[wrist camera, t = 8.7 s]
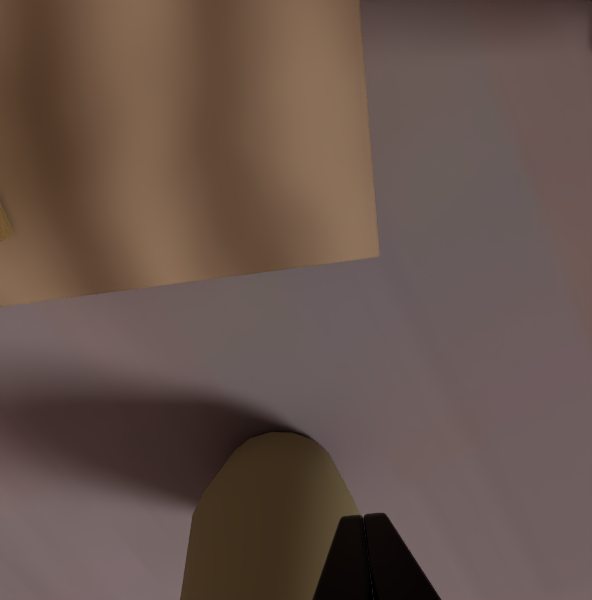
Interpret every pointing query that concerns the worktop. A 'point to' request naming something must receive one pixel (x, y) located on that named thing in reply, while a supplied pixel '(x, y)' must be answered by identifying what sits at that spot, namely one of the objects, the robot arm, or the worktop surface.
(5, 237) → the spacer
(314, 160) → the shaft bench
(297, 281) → the worktop surface
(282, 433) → the squeeze bottle
